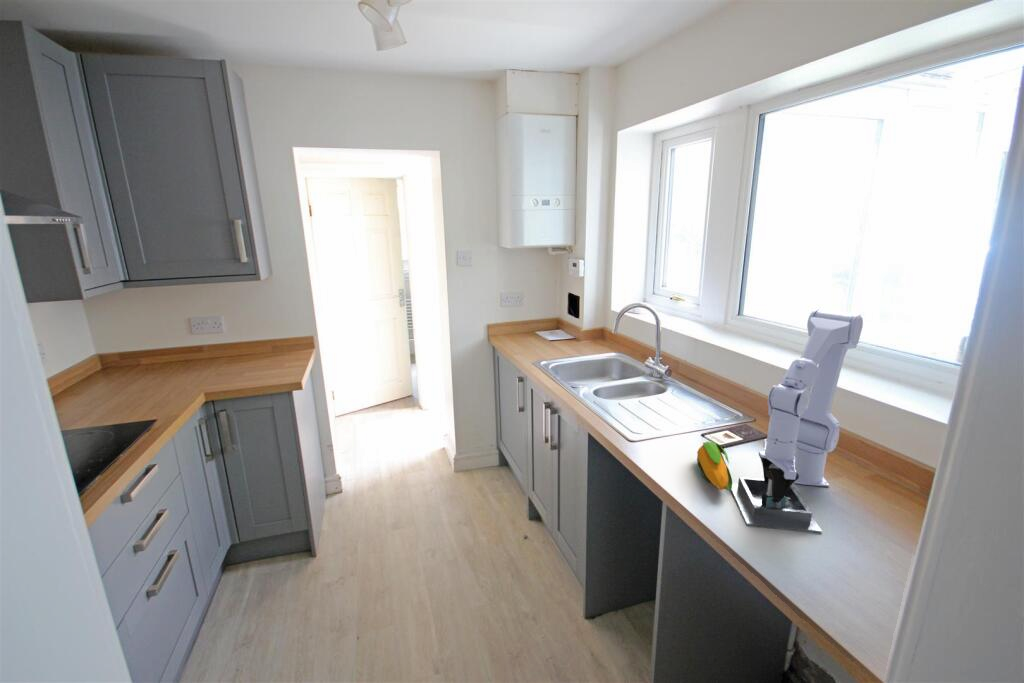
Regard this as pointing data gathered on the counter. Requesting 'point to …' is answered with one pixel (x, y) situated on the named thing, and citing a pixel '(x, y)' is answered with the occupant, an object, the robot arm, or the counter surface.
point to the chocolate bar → (734, 435)
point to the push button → (768, 497)
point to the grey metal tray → (768, 517)
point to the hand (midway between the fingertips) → (773, 489)
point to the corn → (714, 465)
